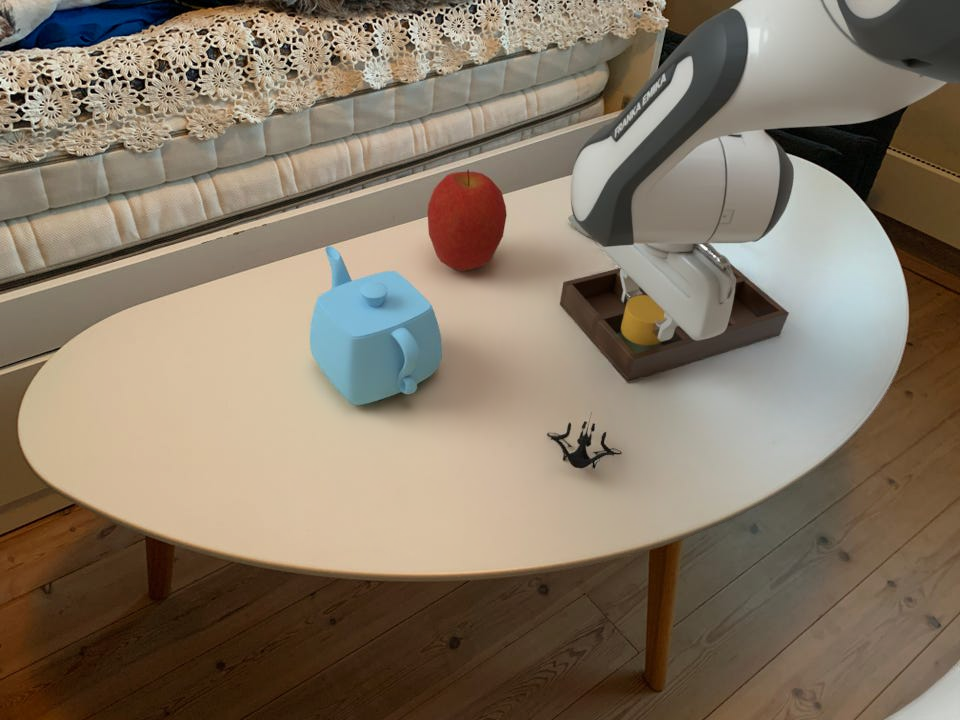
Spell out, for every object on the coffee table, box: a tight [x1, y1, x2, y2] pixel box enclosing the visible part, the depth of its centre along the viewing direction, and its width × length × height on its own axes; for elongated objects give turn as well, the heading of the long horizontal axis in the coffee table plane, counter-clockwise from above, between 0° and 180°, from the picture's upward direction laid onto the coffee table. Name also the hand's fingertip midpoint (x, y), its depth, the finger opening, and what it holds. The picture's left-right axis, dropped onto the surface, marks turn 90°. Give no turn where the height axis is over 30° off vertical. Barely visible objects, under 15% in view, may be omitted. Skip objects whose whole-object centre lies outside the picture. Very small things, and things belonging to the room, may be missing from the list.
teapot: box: [309, 245, 443, 406], centre depth 84 cm, size 12×18×12 cm
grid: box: [559, 263, 790, 383], centre depth 96 cm, size 15×23×4 cm
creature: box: [546, 411, 622, 470], centre depth 78 cm, size 8×5×8 cm
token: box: [621, 295, 666, 346], centre depth 89 cm, size 5×5×3 cm
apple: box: [427, 168, 508, 272], centre depth 99 cm, size 10×10×14 cm
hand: (645, 319), depth 89 cm, fingers closed on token, 5 cm apart
